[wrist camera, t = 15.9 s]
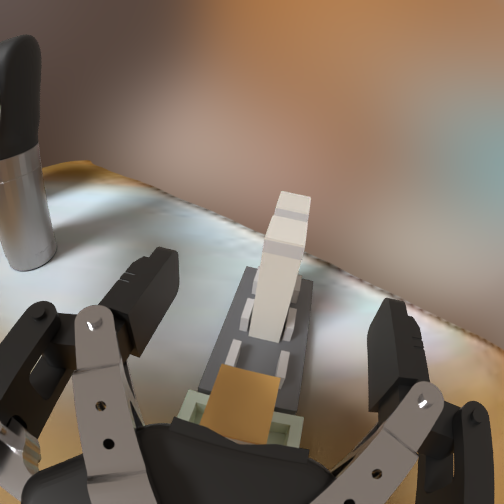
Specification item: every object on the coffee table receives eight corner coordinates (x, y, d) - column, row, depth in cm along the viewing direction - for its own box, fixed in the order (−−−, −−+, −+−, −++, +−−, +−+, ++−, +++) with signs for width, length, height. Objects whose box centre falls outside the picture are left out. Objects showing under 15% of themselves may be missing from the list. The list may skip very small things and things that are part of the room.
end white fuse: (259, 298, 36) (275, 206, 29) (265, 277, 39) (281, 190, 32) (286, 304, 35) (309, 213, 29) (290, 283, 39) (311, 197, 32)
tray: (153, 496, 17) (146, 490, 16) (190, 404, 25) (188, 389, 24) (275, 527, 16) (283, 526, 14) (295, 429, 24) (303, 417, 23)
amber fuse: (202, 477, 19) (197, 427, 12) (216, 437, 22) (221, 363, 15) (242, 488, 19) (266, 445, 12) (253, 447, 22) (281, 377, 15)
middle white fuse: (248, 336, 31) (264, 237, 24) (256, 309, 34) (272, 214, 27) (278, 343, 30) (305, 245, 24) (284, 316, 34) (308, 222, 27)
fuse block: (198, 397, 26) (197, 376, 24) (244, 277, 42) (248, 253, 39) (291, 419, 25) (302, 401, 23) (309, 292, 41) (316, 269, 38)
